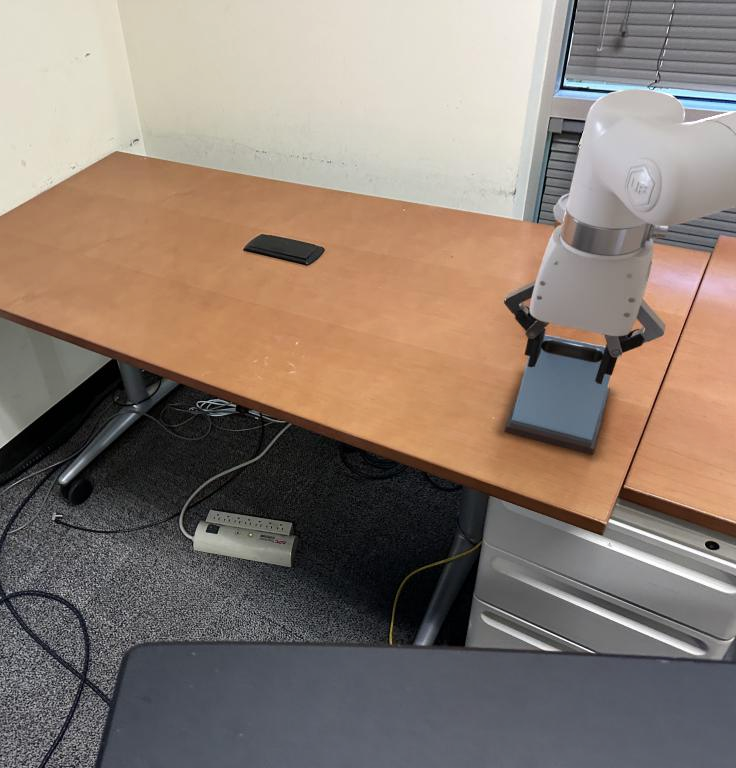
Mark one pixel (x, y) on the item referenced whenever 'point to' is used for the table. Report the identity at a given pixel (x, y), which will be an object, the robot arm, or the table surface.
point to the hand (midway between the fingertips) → (566, 367)
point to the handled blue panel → (563, 388)
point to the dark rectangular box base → (556, 433)
